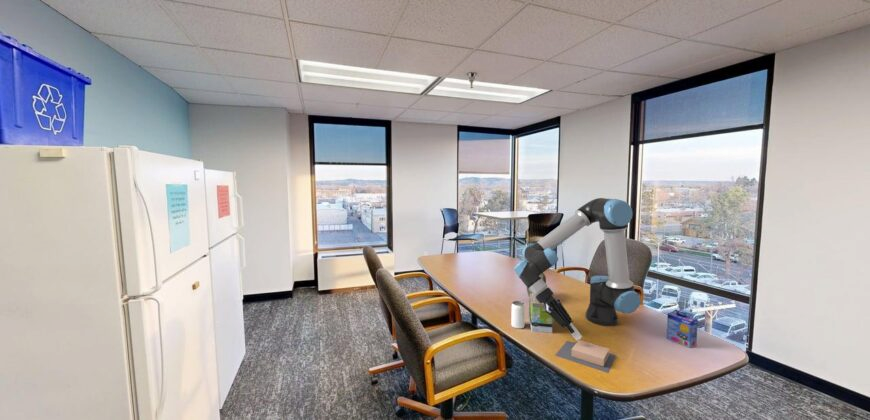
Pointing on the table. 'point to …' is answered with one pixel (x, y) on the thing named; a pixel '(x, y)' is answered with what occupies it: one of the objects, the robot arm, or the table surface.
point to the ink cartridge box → (682, 329)
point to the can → (518, 315)
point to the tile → (590, 352)
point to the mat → (566, 354)
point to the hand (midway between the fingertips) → (579, 338)
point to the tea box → (539, 316)
